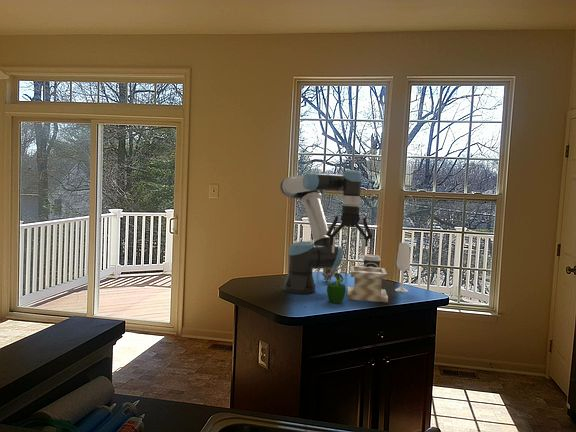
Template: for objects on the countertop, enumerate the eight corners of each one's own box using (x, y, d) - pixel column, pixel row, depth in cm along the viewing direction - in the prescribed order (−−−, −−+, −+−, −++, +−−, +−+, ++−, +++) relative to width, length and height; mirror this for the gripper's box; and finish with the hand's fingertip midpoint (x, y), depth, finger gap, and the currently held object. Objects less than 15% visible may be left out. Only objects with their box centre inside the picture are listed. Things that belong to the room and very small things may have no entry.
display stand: (347, 299, 208) (348, 271, 208) (347, 290, 226) (349, 265, 225) (387, 302, 206) (389, 274, 205) (384, 293, 224) (386, 268, 223)
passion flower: (325, 292, 245) (315, 272, 249) (340, 286, 251) (330, 267, 255) (336, 284, 236) (326, 263, 240) (351, 278, 243) (341, 258, 246)
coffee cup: (383, 284, 245) (385, 256, 244) (370, 286, 240) (372, 257, 239) (370, 281, 253) (372, 253, 252) (357, 282, 248) (359, 254, 247)
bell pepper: (329, 304, 197) (330, 281, 197) (324, 299, 205) (325, 277, 205) (347, 304, 199) (349, 281, 198) (342, 299, 207) (343, 277, 206)
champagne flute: (393, 288, 236) (395, 242, 234) (405, 289, 236) (408, 242, 235) (397, 291, 229) (400, 243, 227) (410, 292, 229) (413, 244, 228)
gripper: (324, 204, 199) (321, 253, 200) (381, 207, 200) (377, 255, 201) (321, 203, 206) (319, 250, 208) (377, 206, 207) (373, 253, 209)
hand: (348, 253), depth 204 cm, fingers open, 13 cm apart
